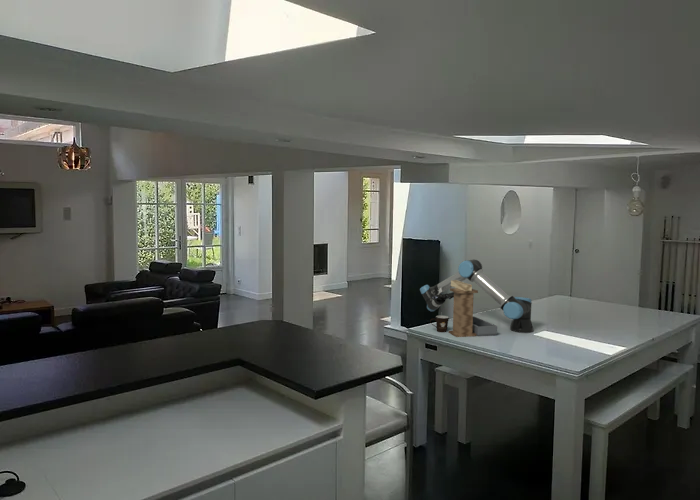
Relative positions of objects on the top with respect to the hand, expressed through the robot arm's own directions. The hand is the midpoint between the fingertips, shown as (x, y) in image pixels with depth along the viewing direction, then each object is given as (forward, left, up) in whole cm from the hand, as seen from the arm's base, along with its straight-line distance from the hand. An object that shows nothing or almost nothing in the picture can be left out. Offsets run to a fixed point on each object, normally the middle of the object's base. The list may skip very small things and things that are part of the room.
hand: (450, 289), depth 368 cm
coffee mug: (+11, +8, -27) cm, 30 cm away
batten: (0, +16, +3) cm, 16 cm away
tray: (-15, +10, -27) cm, 32 cm away
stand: (0, +20, -27) cm, 33 cm away
